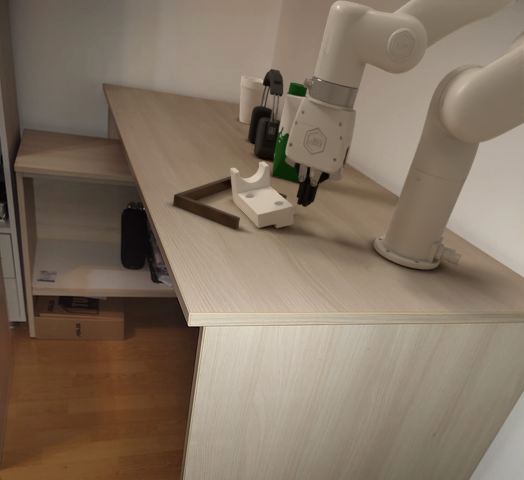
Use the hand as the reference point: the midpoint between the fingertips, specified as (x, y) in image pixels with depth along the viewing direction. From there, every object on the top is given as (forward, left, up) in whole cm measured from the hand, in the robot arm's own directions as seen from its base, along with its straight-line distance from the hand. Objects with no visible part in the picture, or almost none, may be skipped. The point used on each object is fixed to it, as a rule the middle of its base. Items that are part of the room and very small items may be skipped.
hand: (303, 203), depth 90 cm
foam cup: (+52, -76, -5) cm, 93 cm away
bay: (+15, 0, -5) cm, 16 cm away
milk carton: (+16, -31, -5) cm, 36 cm away
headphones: (+32, -47, -5) cm, 57 cm away
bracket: (+9, 0, -5) cm, 10 cm away
